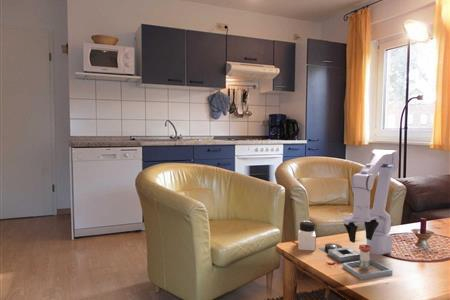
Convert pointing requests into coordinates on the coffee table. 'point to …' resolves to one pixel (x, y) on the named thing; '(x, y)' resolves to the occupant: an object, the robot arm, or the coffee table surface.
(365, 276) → the tray
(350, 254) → the block
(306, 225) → the medicine bottle
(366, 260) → the pin
